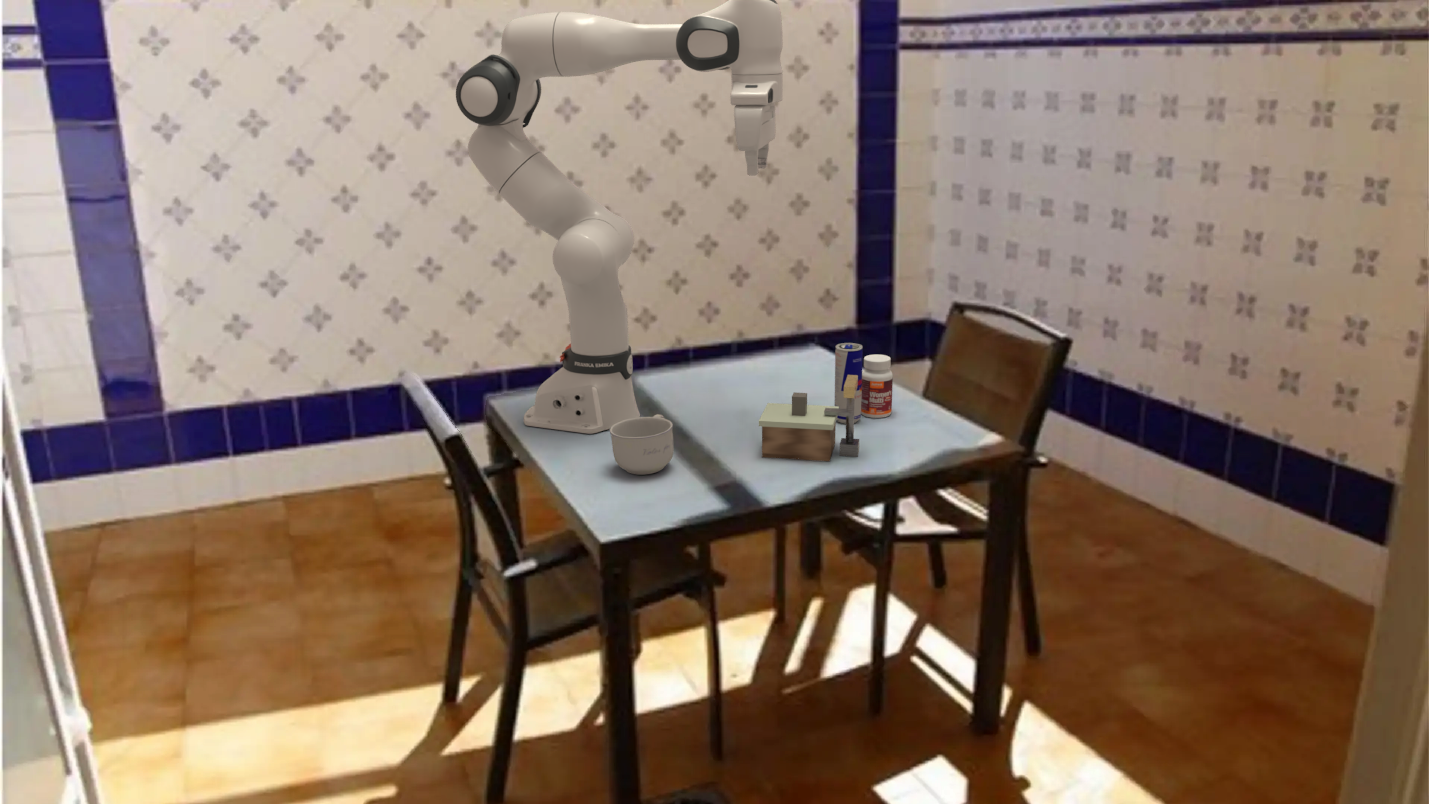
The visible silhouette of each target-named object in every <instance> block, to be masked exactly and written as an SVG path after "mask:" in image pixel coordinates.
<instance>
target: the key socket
mask: <svg viewBox="0 0 1429 804" xmlns="http://www.w3.org/2000/svg"><path fill="white" fill-rule="evenodd" d="M839 442H840V443H839V457H850V458H851V457H853V458H858V457H859V454H860V438H854V442H846V437H845V438H843V437H841V439H840V441H839Z"/></svg>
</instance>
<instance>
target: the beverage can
mask: <svg viewBox="0 0 1429 804" xmlns="http://www.w3.org/2000/svg"><path fill="white" fill-rule="evenodd" d="M834 351H835V352H834V353H835V354H834V356H835V357H834V362H835V363H834V365H835V366H834V406H839V409H846V401H847V398H844V384H845V381H846V378H847V375H858V386H857V390H856V393H855V402H854V424H855V423H857V422H859V420H860V419H861V417H862V414H861V399H862V371H863V355H864V352H863V351H864V350H863V345H862V344H860V343H853V342H844V343H843V342H842V343H838V344H836V345H835V350H834ZM836 421H837V422H838V423H841V424H843V425H844V424H845V425H846V416H837V419H836Z"/></svg>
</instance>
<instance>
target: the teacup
mask: <svg viewBox="0 0 1429 804" xmlns="http://www.w3.org/2000/svg"><path fill="white" fill-rule="evenodd" d="M673 426H674V424H673V422H672V421H671V420H669V419H666V418H665V416H663V414H658V413H657V414H654V415H653V416H640V417H638V418H631V419H627V420H624V421H621V422H618V423H616V424H614V425H613V426H612V427H611V428H610V429H609V432H610V437H611V445H612V452H613V457H614V461H615V462H616V464H617V466H619V468H622V470H625V471H626V473H629V474H632V475H639V476H641V475H650V474H652V475H653V474H654V473H658V472H660V471H661V470H663V469H664V468H665V467H666V465H667V466H668V464H669V463H670V462H671V460H672V458H673V456H674V450H675V449H674V434H673V433H674V431H673Z"/></svg>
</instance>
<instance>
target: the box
mask: <svg viewBox="0 0 1429 804" xmlns="http://www.w3.org/2000/svg"><path fill="white" fill-rule="evenodd" d="M836 425H837V421H836V422H835V425H834V428H833V430H820V429H801V428H782V427H763V426H761V458H765V459H767V458H768V459H784V460H785V459H786V460H798V461H799V460H800V461H802V460H803V461H820V462H830V461H831V459H832V455H833V452H834V449H835V446H836V427H837V426H836Z"/></svg>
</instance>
